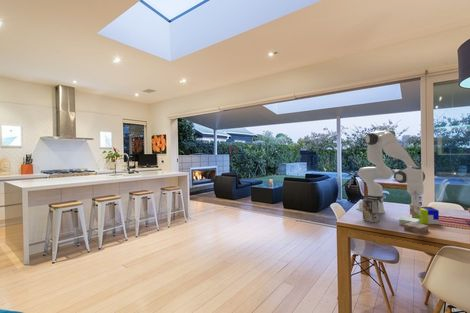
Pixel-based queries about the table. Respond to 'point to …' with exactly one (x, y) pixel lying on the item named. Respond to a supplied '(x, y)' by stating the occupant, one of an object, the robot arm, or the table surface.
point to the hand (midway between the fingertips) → (415, 210)
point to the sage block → (408, 220)
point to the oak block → (415, 212)
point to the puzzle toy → (428, 216)
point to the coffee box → (370, 210)
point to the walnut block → (415, 227)
